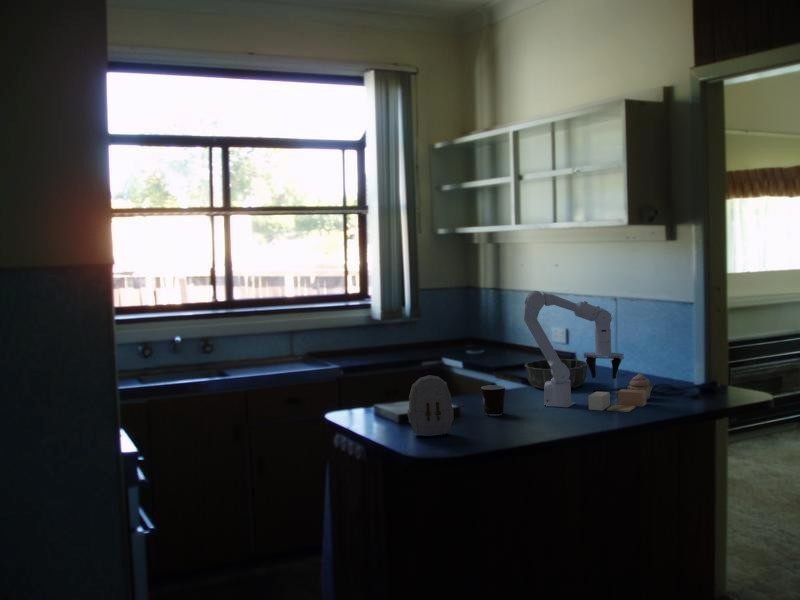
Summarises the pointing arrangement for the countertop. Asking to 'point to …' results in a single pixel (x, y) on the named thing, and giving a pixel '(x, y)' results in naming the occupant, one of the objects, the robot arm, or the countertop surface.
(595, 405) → the block
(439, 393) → the grey rounded bag
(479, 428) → the countertop surface
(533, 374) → the bundt pan
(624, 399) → the tan cardboard brick
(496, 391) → the coffee mug
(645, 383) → the cupcake
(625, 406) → the coaster
